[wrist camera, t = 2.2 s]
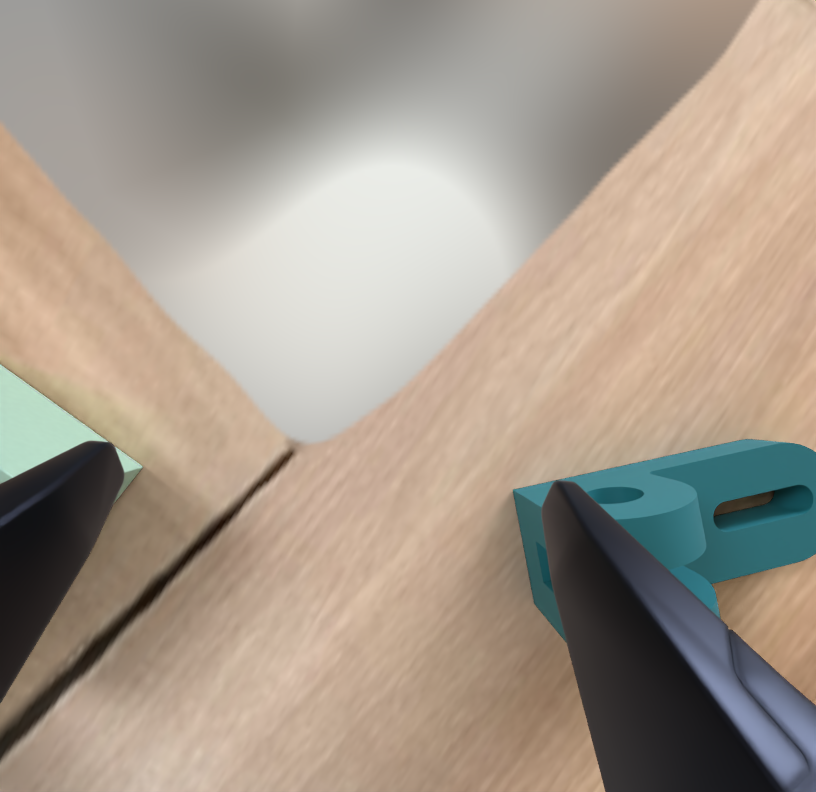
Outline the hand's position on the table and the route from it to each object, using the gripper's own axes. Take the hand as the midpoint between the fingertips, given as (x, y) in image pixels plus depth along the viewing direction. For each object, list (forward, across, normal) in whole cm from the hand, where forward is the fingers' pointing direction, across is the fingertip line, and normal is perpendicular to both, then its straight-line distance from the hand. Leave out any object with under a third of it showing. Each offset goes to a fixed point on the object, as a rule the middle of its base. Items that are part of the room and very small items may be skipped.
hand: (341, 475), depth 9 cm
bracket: (+10, -18, +12) cm, 24 cm away
